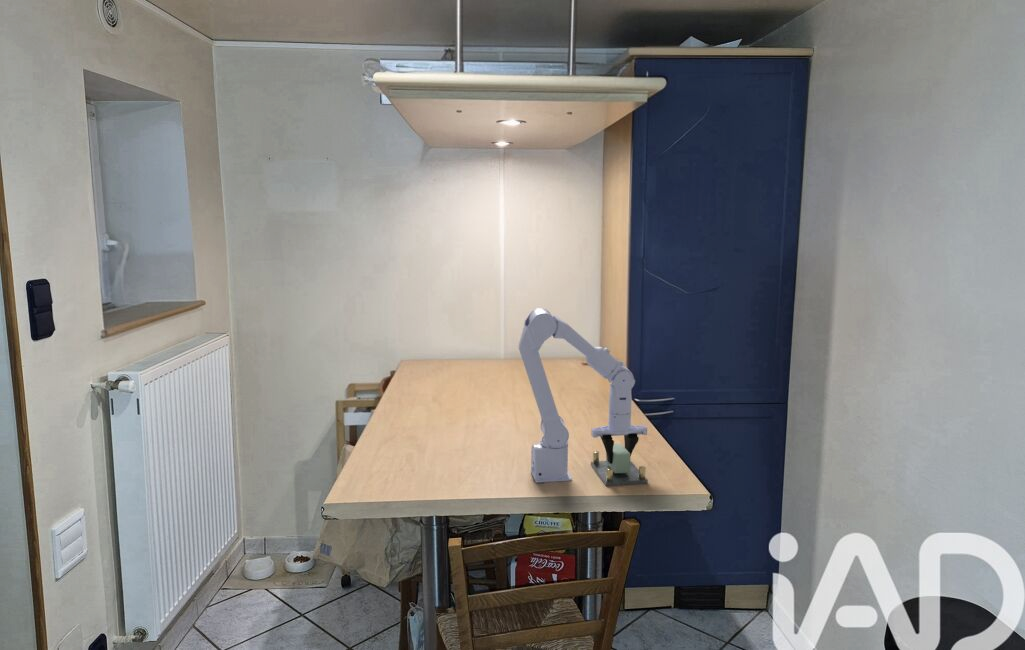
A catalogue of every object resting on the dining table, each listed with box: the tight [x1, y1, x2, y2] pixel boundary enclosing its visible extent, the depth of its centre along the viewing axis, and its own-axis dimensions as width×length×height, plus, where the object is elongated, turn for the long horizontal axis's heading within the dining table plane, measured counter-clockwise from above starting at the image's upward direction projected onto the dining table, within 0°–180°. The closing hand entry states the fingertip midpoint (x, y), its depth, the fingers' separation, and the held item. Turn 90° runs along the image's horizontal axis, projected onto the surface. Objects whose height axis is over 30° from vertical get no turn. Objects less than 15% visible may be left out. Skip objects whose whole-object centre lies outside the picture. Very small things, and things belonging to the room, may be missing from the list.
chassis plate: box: [590, 450, 649, 487], centre depth 183 cm, size 11×15×4 cm
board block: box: [605, 443, 632, 473], centre depth 183 cm, size 4×8×5 cm, turn 9°
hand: (618, 461), depth 183 cm, fingers closed on board block, 4 cm apart
